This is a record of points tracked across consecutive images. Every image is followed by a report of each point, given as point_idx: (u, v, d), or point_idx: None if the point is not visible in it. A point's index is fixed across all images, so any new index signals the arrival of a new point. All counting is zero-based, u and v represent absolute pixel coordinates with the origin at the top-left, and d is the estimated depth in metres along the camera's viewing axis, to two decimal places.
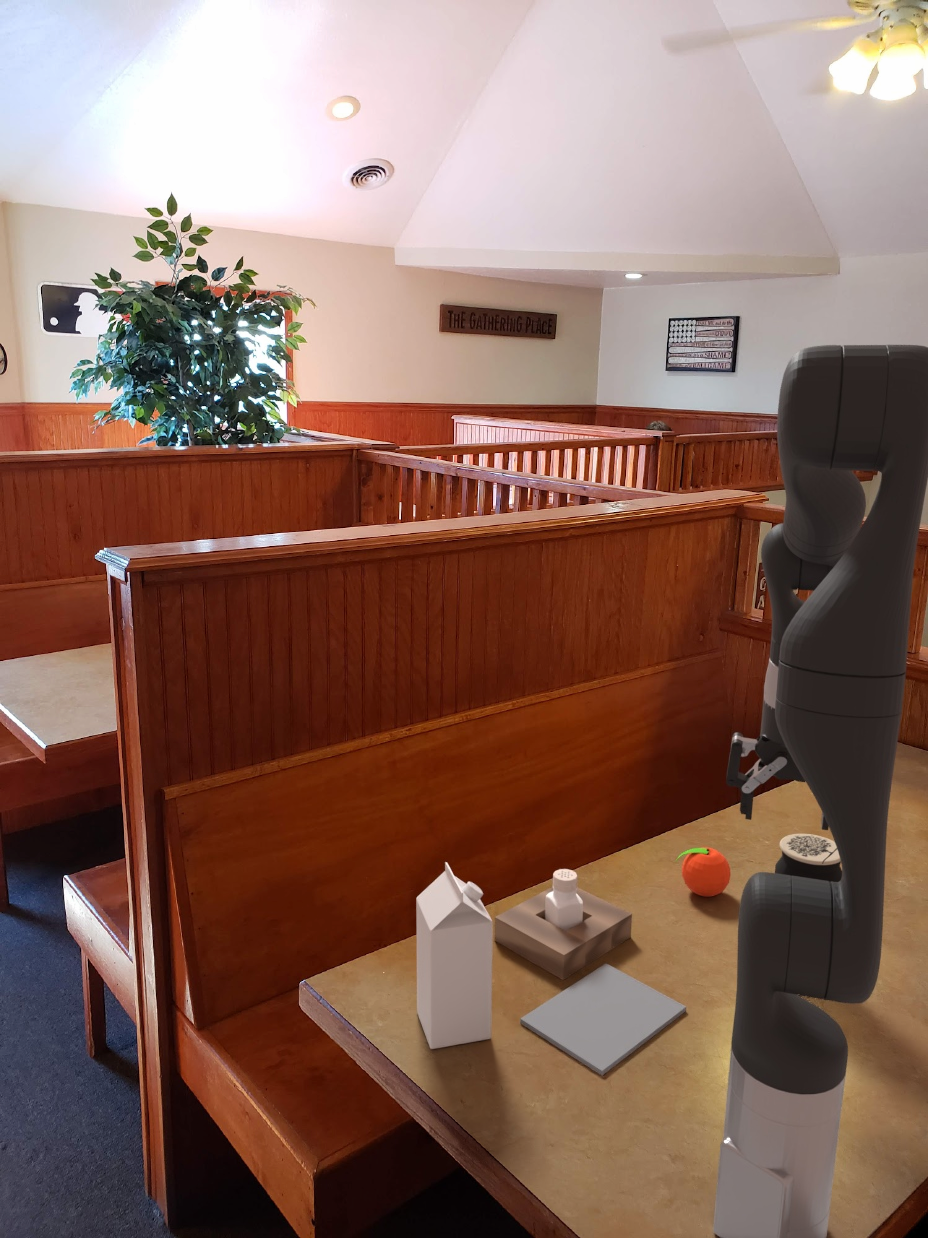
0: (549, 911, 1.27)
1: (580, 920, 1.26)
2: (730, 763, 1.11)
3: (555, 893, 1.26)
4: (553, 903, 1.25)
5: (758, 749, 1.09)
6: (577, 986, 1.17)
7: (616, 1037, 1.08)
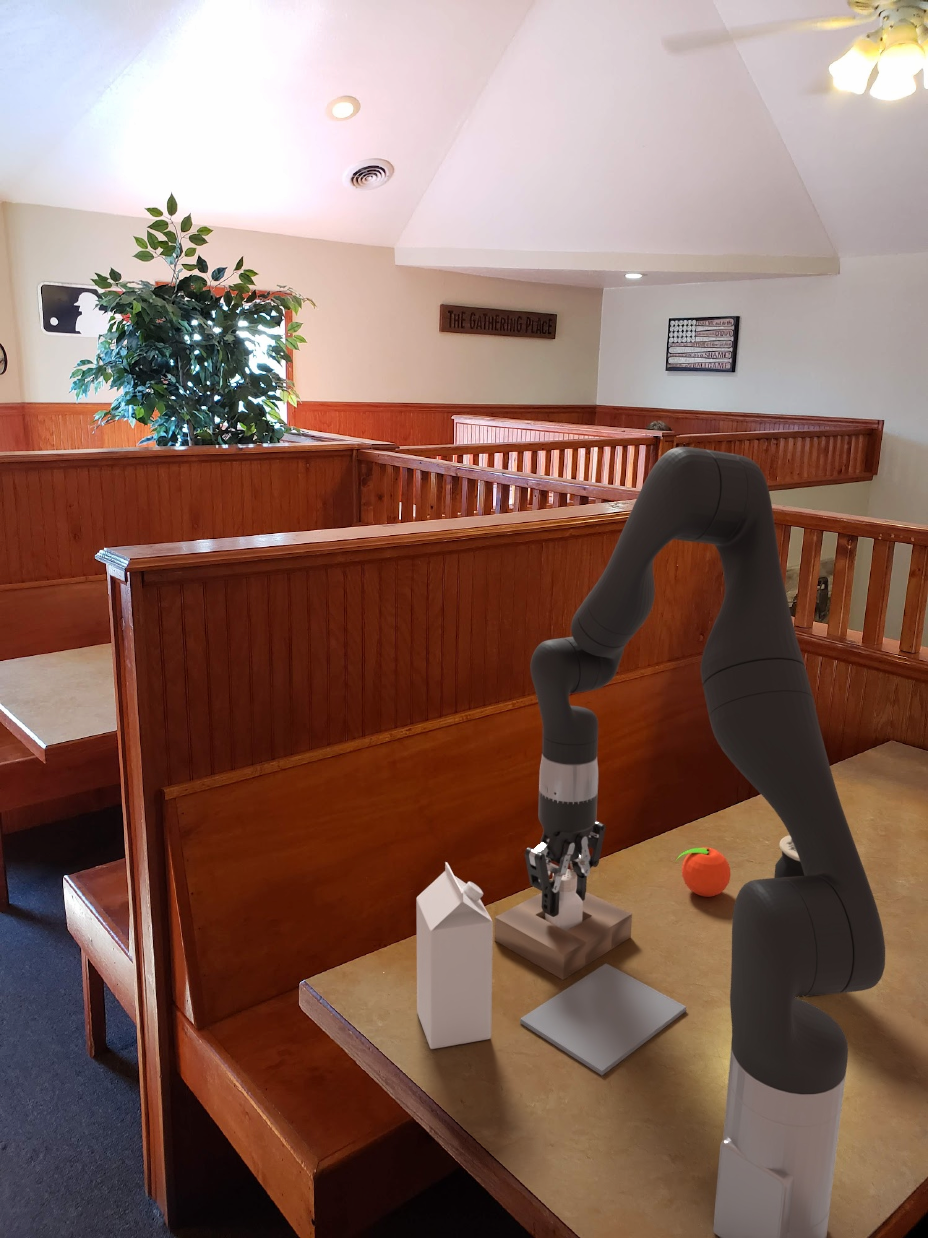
0: None
1: (580, 920, 1.26)
2: (542, 875, 1.20)
3: None
4: None
5: (553, 847, 1.21)
6: (577, 986, 1.17)
7: (616, 1037, 1.08)
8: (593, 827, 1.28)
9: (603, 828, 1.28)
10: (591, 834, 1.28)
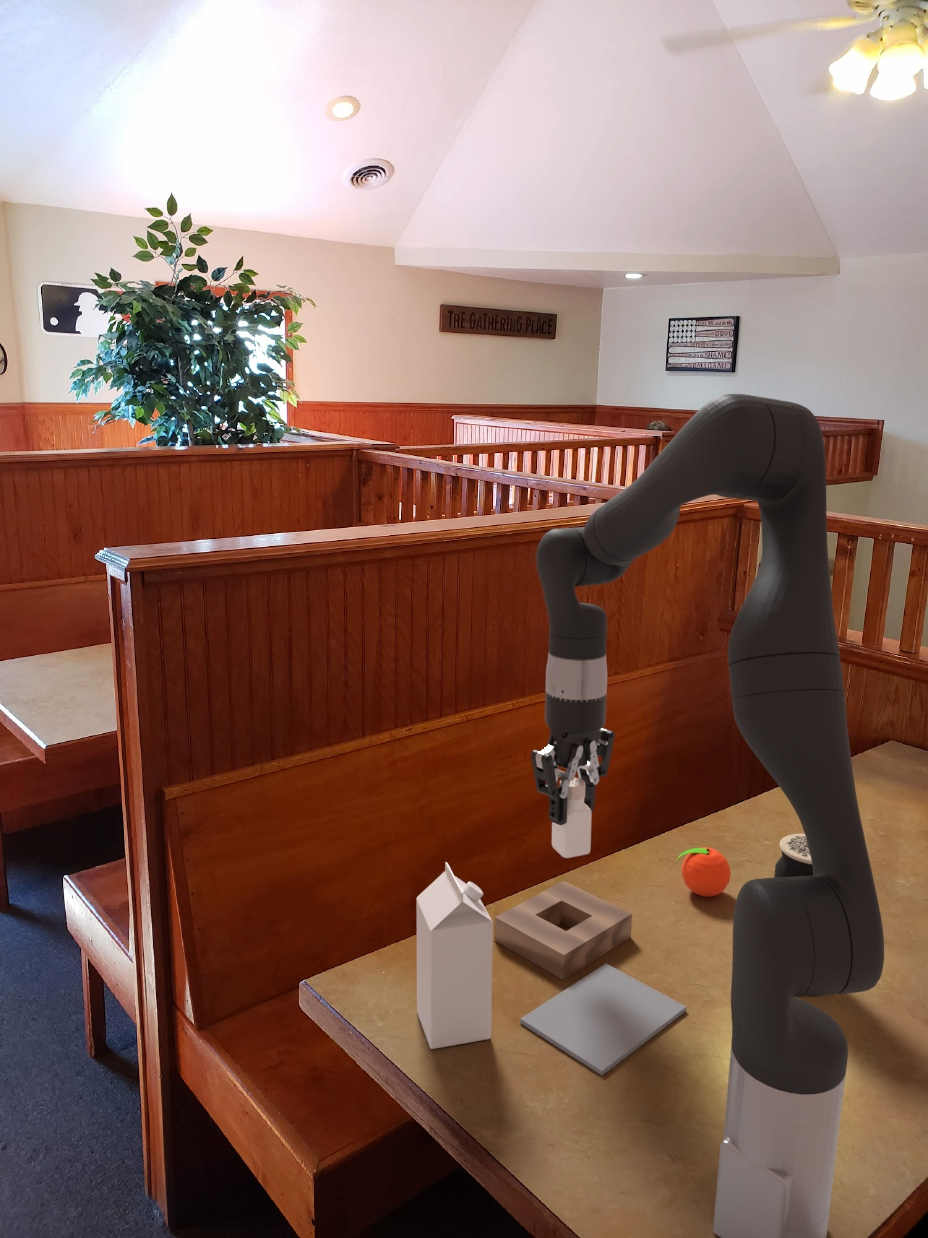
0: None
1: (589, 829, 1.21)
2: (549, 777, 1.15)
3: None
4: None
5: (560, 749, 1.16)
6: (577, 986, 1.17)
7: (616, 1037, 1.08)
8: (602, 734, 1.23)
9: (612, 735, 1.23)
10: (600, 741, 1.22)
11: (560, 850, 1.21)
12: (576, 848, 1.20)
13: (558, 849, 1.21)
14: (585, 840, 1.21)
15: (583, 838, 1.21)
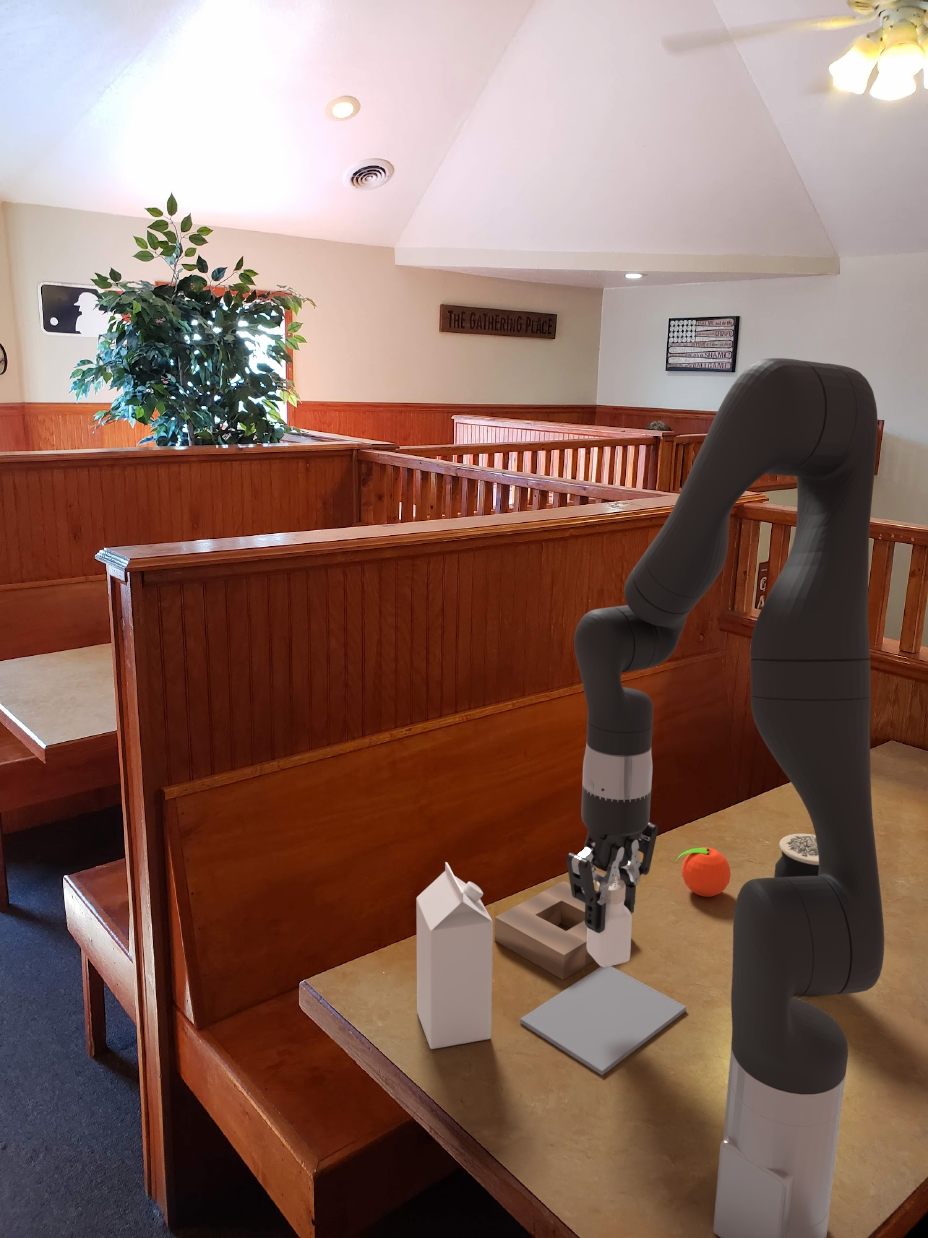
0: None
1: (629, 936, 1.08)
2: (587, 885, 1.03)
3: None
4: None
5: (599, 853, 1.04)
6: (577, 986, 1.17)
7: (616, 1037, 1.08)
8: (644, 828, 1.10)
9: (655, 830, 1.10)
10: (641, 837, 1.10)
11: (596, 958, 1.09)
12: (614, 956, 1.08)
13: (594, 956, 1.09)
14: (624, 947, 1.09)
15: (622, 946, 1.08)
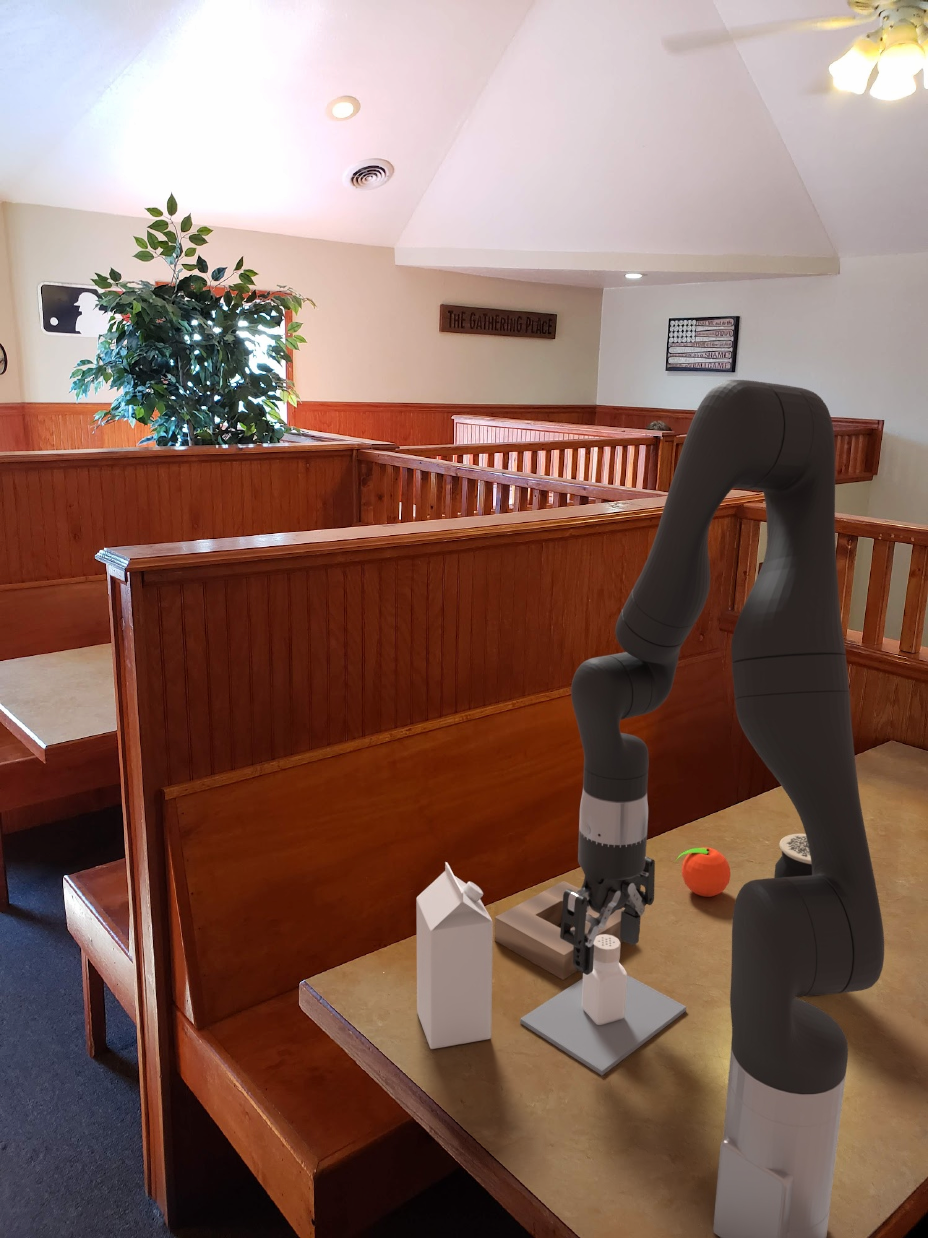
0: (588, 983, 1.10)
1: (624, 994, 1.10)
2: (579, 923, 1.03)
3: (596, 964, 1.09)
4: (592, 975, 1.09)
5: (596, 895, 1.05)
6: (577, 986, 1.17)
7: (616, 1037, 1.08)
8: None
9: (652, 864, 1.11)
10: (639, 873, 1.11)
11: (592, 1016, 1.10)
12: (610, 1014, 1.10)
13: (590, 1014, 1.11)
14: (620, 1005, 1.10)
15: (617, 1003, 1.10)
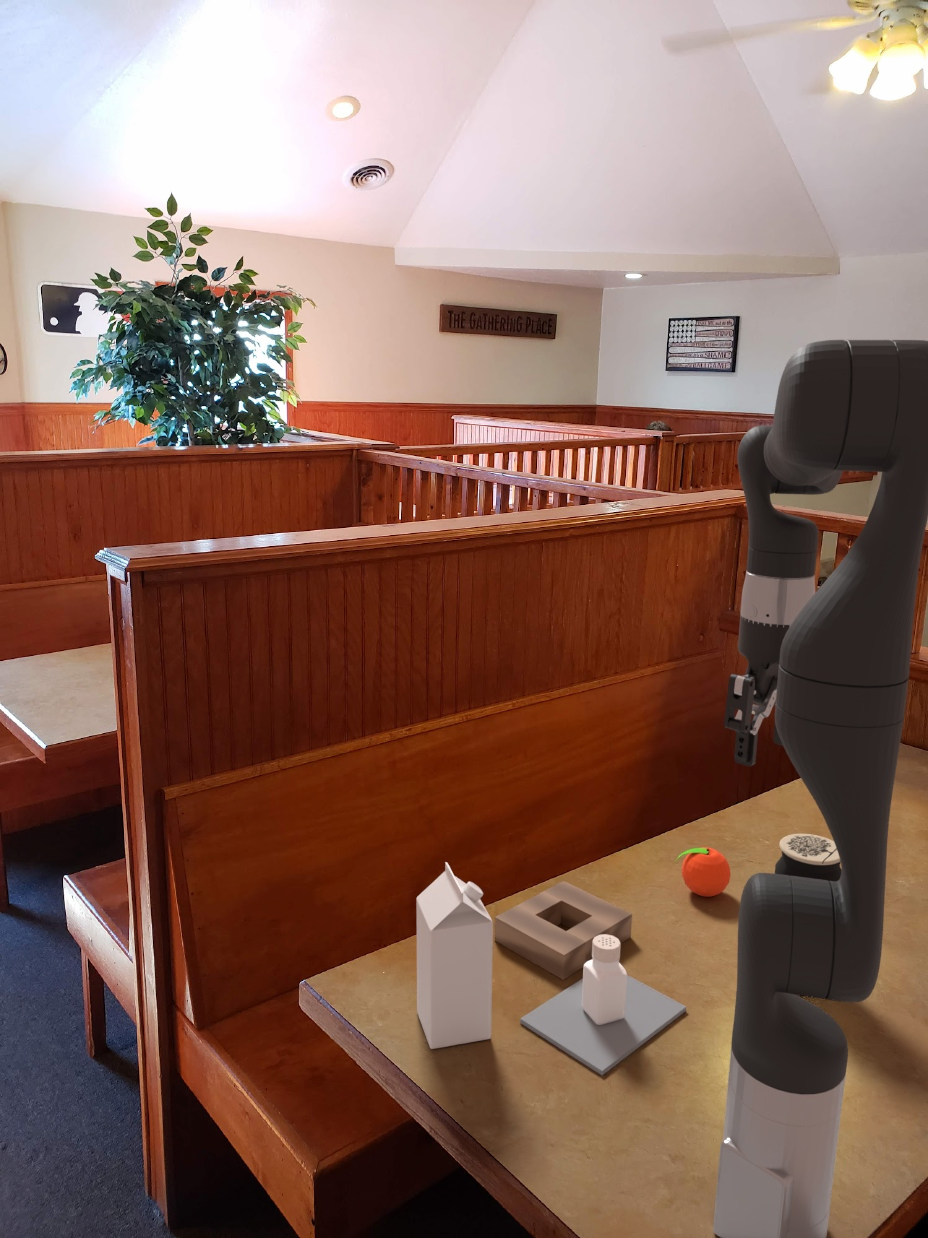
0: (588, 983, 1.10)
1: (624, 994, 1.10)
2: (747, 706, 1.00)
3: (596, 964, 1.09)
4: (592, 975, 1.09)
5: (762, 680, 1.01)
6: (577, 986, 1.17)
7: (616, 1037, 1.08)
8: None
9: None
10: None
11: (592, 1016, 1.10)
12: (610, 1014, 1.10)
13: (590, 1014, 1.11)
14: (620, 1005, 1.10)
15: (617, 1003, 1.10)
